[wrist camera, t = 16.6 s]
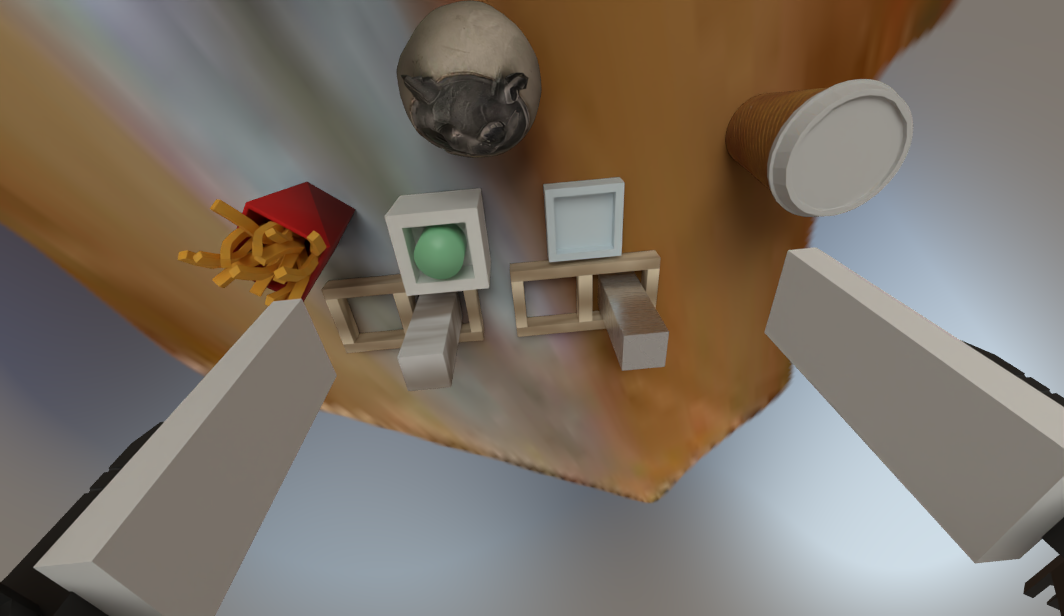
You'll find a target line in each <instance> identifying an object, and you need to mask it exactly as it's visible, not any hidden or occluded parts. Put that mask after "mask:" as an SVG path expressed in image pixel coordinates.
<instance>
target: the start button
mask: <svg viewBox="0 0 1064 616" xmlns="http://www.w3.org/2000/svg"><path fill="white" fill-rule="evenodd" d="M466 246H467V240H466V236H465V234H464V232H463V231H462V229H461V228H460V227H459V226H457V225H456V224H454V223H451V224H440V225H430V226H426V227H425V228H424V230H423V232H422V234H421V236H420V238H419V240H418V243H417V245H416V247H415V250H414V260H415V263H416V265H417V267H418V268H419V269H420V271H421V272H423V273H424V274H425V275H427V276H429V277H431V278H435V279H447V278H450V277H453V276H454V275H456V274H457V273H458V272H459V271H460V269H461V267H462V265H463V261H464V256H465V251H466Z"/></svg>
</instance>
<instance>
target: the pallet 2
mask: <svg viewBox="0 0 1064 616" xmlns="http://www.w3.org/2000/svg"><path fill="white" fill-rule="evenodd" d="M660 259H661V258H660V256H659V255H658V254H657V252H656V251H655V250H651V251H641V252H630V253H621V256H612V257H601V258H590V259H580V260H569V261H558V262H549V260H545V261H534V262H524V263H513V264H510V276H511V284H512V293H513V301H514V309H515V318H516V326H517V335H518V337H522V336H533V335H543V334H554V333H564V332H575V331H585V330H596V329H607V328H606V325H605V323H604V320H603V317H602V314H601V312H600V311H592V275H596V274H606V273H617V272H627V271H638V270H642V278H641V285H642V286H643V288H644V290H645V291H646V293H647V295H648V297H649V298H650V300H651V302H652V303H653V305H654V307H655V309H656V300H657V289H658V279H659V269H660ZM574 276H576V296H577V313H570V314H560V315H549V316H539V317H528V318H527V315H526V305H525V295H524V285H523V281H532V280H543V279H553V278H564V277H574Z"/></svg>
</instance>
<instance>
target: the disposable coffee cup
mask: <svg viewBox="0 0 1064 616" xmlns="http://www.w3.org/2000/svg"><path fill="white" fill-rule="evenodd" d="M912 134H913V120H912V114H911V112H910V109H909V107H908V105H907V104H906V103H905V101H904V100H903V99H902V98H900V97H899V96H898V94H897V93H896V92H895V91H894V90H893V89H892V88H891V87H889V86H888V85H886V84H885V83H882V82H879V81H876V80H870V79H857V80H850V81H846V82H842V83H839V84H836V85H834V86H832V87H830V88H820V89H809V90H798V91H788V92H777V93H765V94H760V95H757V96H754V97H753V98H751V99H749V100H748V101H746V102H745V103H744V104H743V105H741V107H740V108H739V109H738V110H737V111H736V112H735V114H734V115H733V117H732V118H731V121H730V123H729V125H728V128H727V132H726V146H727V150H728V152H729V154H730V156H731V157H732V158H733V159H734V160H736V161H737V162H738V163H739V164H740V165H741V166H743V167H744V168H745V169H746V170H747V171H748V172H750V173H751V174H752V175H753V176H754V177H755V178H757V179H758V180H759V181H760V182H761V183H762V184H763V185H764V186H766V187H767V188H768V189H769V190H771V192H772V195H773V196H774V198H775V200H776V201H777V202H778V203H779V204H780V205H781V206H782V207H783V208H784V209H785V210H787V211H789V212H791V213H793V214H795V215H799V216H804V217H817V216H833V215H838V214H841V213H845V212H848V211H850V210H853V209H855V208H857V207H859V206H860V205H862V204H864V203H865V202H867V201H868V200H870V199H871V198H872V197H874V196H875V195H876V194H877V193H879V192H880V191H881V190H882V189H883V188H884V187H885V186H886V185H887V184H888V183H889V182H890V181H891V179H892V178H893V177H894V175H895V174H896V173H897V172H898V170H899V168H900V167H901V165H902V163H903V161H904V160H905V158H906V155H907V153H908V150H909V148H910V145H911V140H912Z"/></svg>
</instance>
